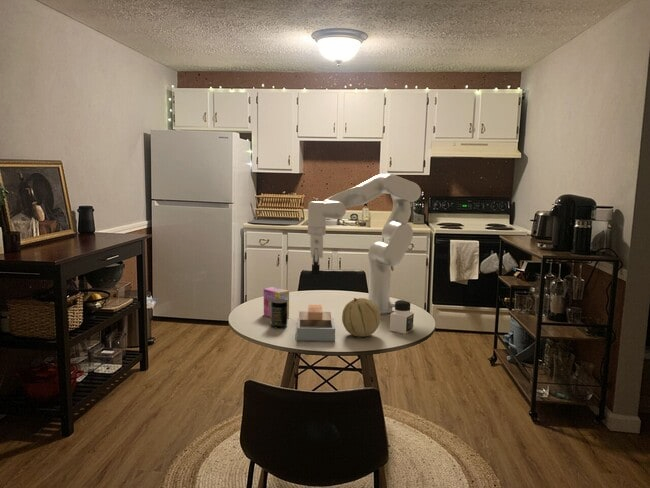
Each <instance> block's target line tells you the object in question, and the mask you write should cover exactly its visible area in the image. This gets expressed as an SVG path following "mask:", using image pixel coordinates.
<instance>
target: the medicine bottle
mask: <svg viewBox="0 0 650 488" xmlns="http://www.w3.org/2000/svg"><path fill="white" fill-rule="evenodd" d="M414 315H415V312H413V311H411V302H410V301H409V300H406V299H400V300H399V299H398V300H396V301H395V307H394V311H392V312H391V313H390V315H389V316H390V319H389V331H390V332H394V333H399V334H404V335H406V334H408V333H410V332H411V331H413V330H414V317H415V316H414Z"/></svg>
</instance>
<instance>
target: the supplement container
mask: <svg viewBox="0 0 650 488" xmlns="http://www.w3.org/2000/svg"><path fill="white" fill-rule="evenodd" d="M287 307H288V301H287V300H285V299H274V300H271V317H270V326H271V328H274V329H284V328H286V327H287V326H288V318H287Z"/></svg>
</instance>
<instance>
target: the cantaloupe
mask: <svg viewBox="0 0 650 488" xmlns="http://www.w3.org/2000/svg"><path fill="white" fill-rule="evenodd" d="M381 319H382V318H381V314H380V311H379V309H378V307H377V306H376V304H375V303H373V302H372V301H371V300H369V298H366V297H359V298H356V297H354V298H353V300H352V299H351V300H350V301H349V302H348V303H346V304H345V306H344V308H343V310H342V316H341V321H342V322H341V323H342V324H343V327H344V328H345V330H346V331H347V333H348V334H351V335H353V336H355V337H360V338H362V337H369V336H371V335H372V334H374V333H375V332H376V331H377V329H378V328H379V326H380V324H381V321H382V320H381Z"/></svg>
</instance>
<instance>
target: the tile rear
mask: <svg viewBox="0 0 650 488" xmlns="http://www.w3.org/2000/svg"><path fill="white" fill-rule="evenodd" d="M309 309H322V310H323V305H322V304H308V309H307V311H308V310H309Z"/></svg>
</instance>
